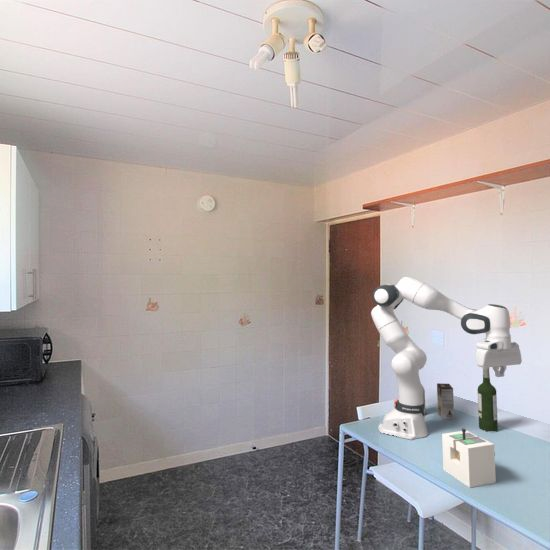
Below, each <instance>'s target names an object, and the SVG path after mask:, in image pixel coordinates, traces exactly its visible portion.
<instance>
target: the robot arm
mask: <svg viewBox="0 0 550 550" xmlns="http://www.w3.org/2000/svg"><path fill="white" fill-rule="evenodd" d="M372 300H373V301H374V303H375V304H376V306H374V307H373V308H372V309H371V312H370V315H371V319H372V321H373V323H374V325H375V328H376V329H377V331H378V333H379V334H380V336H381V338H382V340H383V341H384V343H385V345H386V346H387V347H389V348H390V349H392V351H394V354H395V355H394V357H393V358H392V360H391V364H390V365H391V369H392V370H393V372H394V374H395V378H396V380H397V381H396V382H397V386H398V387H397V388H398V390H397V391H398V392H397V393H398V398H395V399H394V400H393V401H394V404H393V405H394V408H393V409H391V410H389V411H388V412H386V413H385V415H384V416H383V420H382V422H380V423H379V424H378V426H377V427H378V428H377V429H378V430H379V431H380V432H381V433H380V432H379V431H378V432H379V433H380V434H383V433H385V434H384V435H387V434H389V435H388V436H392V435H394V436H393V437H396V436H397V437H396V438H400V439H401V438H402V439H406V440H410V441H411V440H412V441H414V440H416V439H420V438H422V439H423V438H425V437H428V436H429V432H428V429H427V423H426V419H425V418H426V417H425V414H426V405H425V406H424V402H423V388H424V386H423V384H422V383H421V379H420V375H419V374H420V373H419V371H420V370H422V369H423V368H424V366H425V365H426V364H427V361H428V360H427V354H426V352H424V350H422V349H421V348H420V347H419V345H417V343H415V341H414V340H413V339H412V338H411V337H410V336H409V335H408V334H407V332H406V331H405V329H404V327H403V326H402V324H401V322H400V321H399V319H398V318H397V316H396V314H395V311H394V310H396V309H397V308H398V307H399V305H401V303H402V302H403V301H404V300H407V301H408V302H411V304H414V305H416V306H417V307H420V308H422V309H425V310H430V311H431V310H433V311H441V312H443V313H447V314H449V315H451V316H453V317H455V318H457V319H459V320H460V326H461V328H462V330H463V331H464V332H465V333H468V334H470V335H480V334H485V338H484V339H481V340H479V341H477V342H476V348H477V349H476V353H475V363H476V365H477V366H478V367H480V368H482V369H483V368H486V367H489V368H492V370H493V371H494V376H495V377H497V378H500V377H501V378H503V377H505V372H506V370H507V366H516V365H517V366H519V365H521V364H522V353H521V349H520V345H519V344H518V343H517V342H515V341H514V342H513V341H512V338H511V337H512V336H511V332H510V328H511V316H510V312H509V309H508V308H507V307H506V306H504V305H500V304H491V303H489V304H486V305H484V307H481V308H479V309H473V308H470V307H467V306H465V305H463V304H461V303H459V302H457V301H456V300H453V299H451V298H449V297H447V296H446V295H445V294H443V293H442V292H440V291H439V290H437V289H436V288H434V287H432V286H431V285H429V284H427V283H426V282H423V281H422V280H420V279H418V278H417V279H416V278H413V277H410V276H404V277H402V278H400V279H399V281H398V282H397V284H396V285H395V284H381V285H378V286H377V287H375V289H374V290H373V293H372ZM382 423H383V424H382Z"/></svg>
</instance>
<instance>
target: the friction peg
mask: <svg viewBox="0 0 550 550" xmlns="http://www.w3.org/2000/svg"><path fill="white" fill-rule="evenodd" d="M461 431H462V432H463V440H465V432H466V428H464V427H463V428H461ZM495 451H496V450H494V452H495ZM456 458H457V459H458V460H460V452H459V451H457V450H456Z"/></svg>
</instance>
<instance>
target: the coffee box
mask: <svg viewBox="0 0 550 550" xmlns="http://www.w3.org/2000/svg"><path fill="white" fill-rule="evenodd" d="M436 393H437V394H436V395H437V397H436V398H437V413H438V414H439V416H440V418H441V419H443V420H446V419H447V420H455V408H454V406H455V405H454V402H455V401H454V388H453V386H452V385H451V384H450V383H440V382H439V383H436Z"/></svg>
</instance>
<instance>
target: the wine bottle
mask: <svg viewBox="0 0 550 550" xmlns="http://www.w3.org/2000/svg"><path fill="white" fill-rule="evenodd" d="M497 400H498V396H497V389H496V387H495V386H494V385H492V383H491V376H490V367H486V368H483V367H482V382H481V384H479V385H478V387H477V410H478V413H477V414H478V428H479V429H480V430H481V429H482V431H484V430H485V431H484V432H488V431H496V432H498V431H497V430H499V426H498V424H499V422H498V403H497V402H498V401H497Z"/></svg>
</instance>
